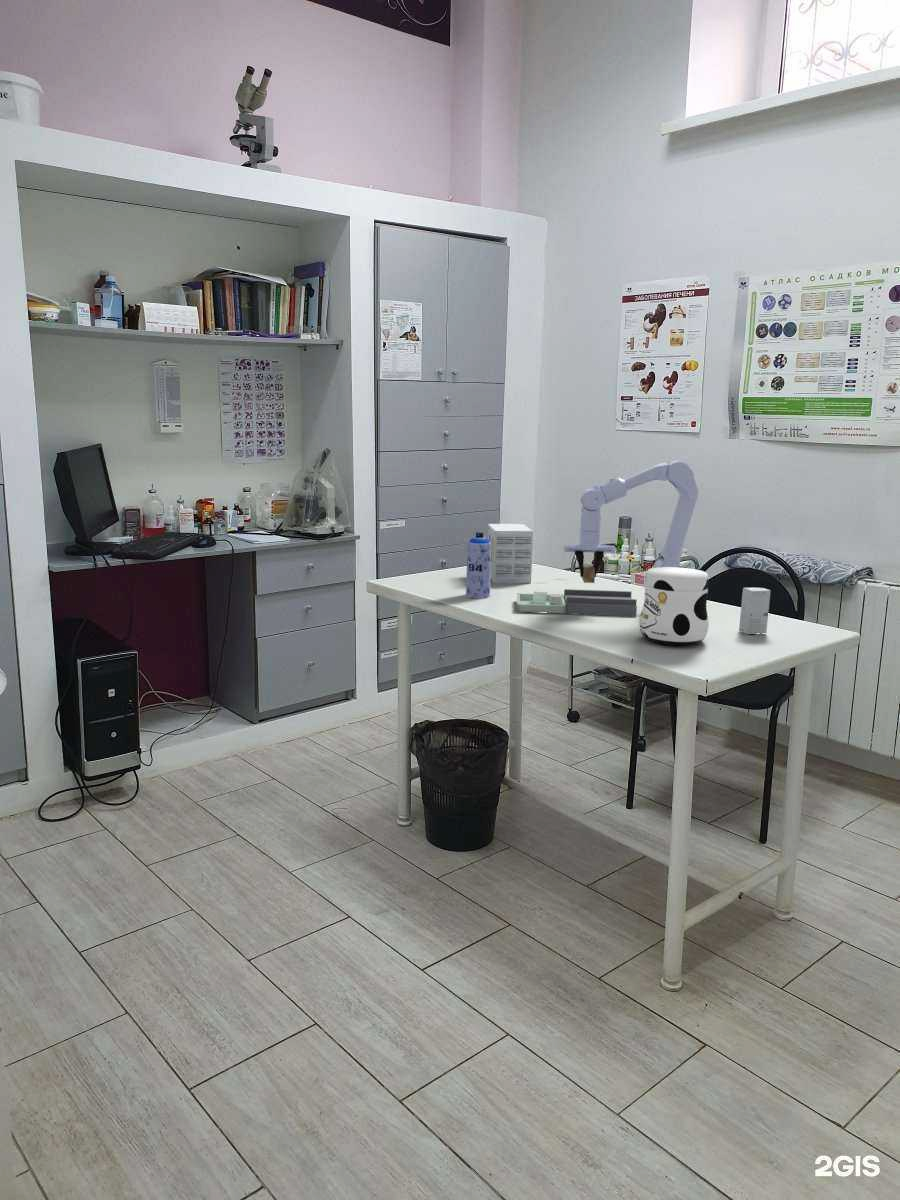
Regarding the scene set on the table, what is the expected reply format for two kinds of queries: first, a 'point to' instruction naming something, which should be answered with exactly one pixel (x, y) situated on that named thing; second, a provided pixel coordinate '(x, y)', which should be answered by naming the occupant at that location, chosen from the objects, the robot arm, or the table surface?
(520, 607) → the chip tray
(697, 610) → the milk container
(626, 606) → the channel board
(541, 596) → the grey small block
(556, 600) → the chip near
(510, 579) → the supplement box
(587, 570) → the bar
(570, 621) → the table surface
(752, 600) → the skincare box
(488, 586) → the aerosol can
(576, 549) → the robot arm
